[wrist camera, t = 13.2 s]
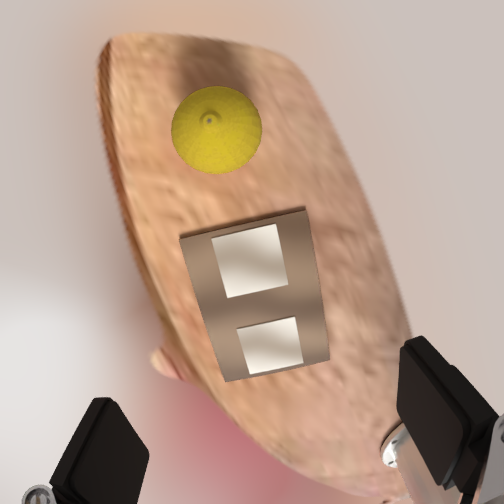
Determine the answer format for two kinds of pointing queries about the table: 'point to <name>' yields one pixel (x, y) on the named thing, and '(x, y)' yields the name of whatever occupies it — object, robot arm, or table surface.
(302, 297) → the label board
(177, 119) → the lemon
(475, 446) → the robot arm
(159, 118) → the table surface
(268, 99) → the table surface
